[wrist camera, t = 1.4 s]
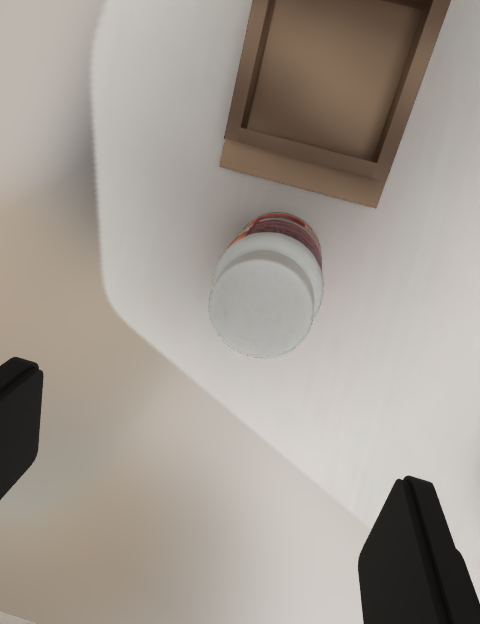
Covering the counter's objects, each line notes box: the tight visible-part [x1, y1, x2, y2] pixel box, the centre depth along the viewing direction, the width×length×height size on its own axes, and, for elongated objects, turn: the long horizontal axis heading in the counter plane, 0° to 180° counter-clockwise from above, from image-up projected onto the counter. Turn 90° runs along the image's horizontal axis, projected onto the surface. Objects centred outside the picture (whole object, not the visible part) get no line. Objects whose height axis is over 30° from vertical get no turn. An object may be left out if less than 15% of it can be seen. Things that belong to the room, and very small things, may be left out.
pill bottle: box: [209, 213, 323, 358], centre depth 26 cm, size 6×6×11 cm
